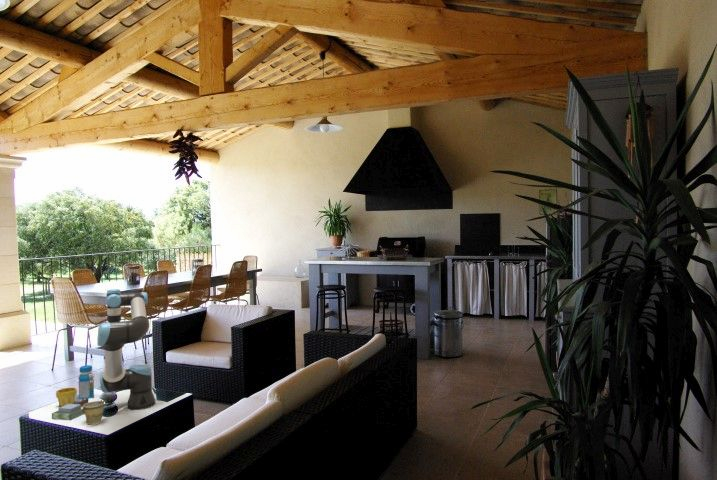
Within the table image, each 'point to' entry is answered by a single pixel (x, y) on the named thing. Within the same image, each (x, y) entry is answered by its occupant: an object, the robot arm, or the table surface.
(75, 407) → the slate block
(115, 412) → the table surface
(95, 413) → the ceramic cup
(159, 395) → the table surface
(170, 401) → the table surface
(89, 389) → the beverage bottle
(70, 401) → the plant pot
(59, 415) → the lane box
